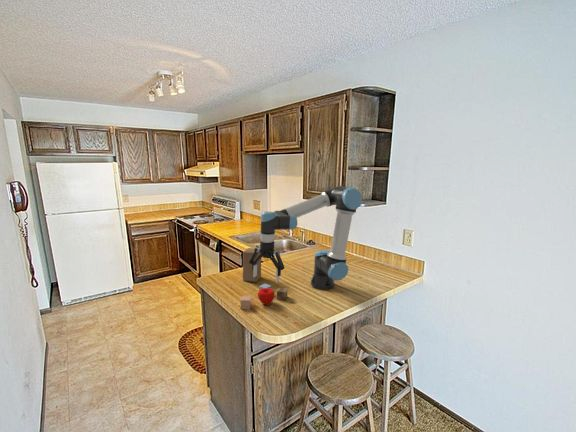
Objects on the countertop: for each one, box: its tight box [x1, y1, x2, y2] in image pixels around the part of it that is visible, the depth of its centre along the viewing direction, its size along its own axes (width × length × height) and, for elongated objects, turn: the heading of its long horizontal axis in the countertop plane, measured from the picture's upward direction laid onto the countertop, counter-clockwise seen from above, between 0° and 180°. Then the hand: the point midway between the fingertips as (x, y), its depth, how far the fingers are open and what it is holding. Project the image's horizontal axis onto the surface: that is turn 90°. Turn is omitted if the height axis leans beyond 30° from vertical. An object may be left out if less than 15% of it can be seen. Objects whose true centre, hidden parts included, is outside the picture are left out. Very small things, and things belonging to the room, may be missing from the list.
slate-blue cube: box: [258, 283, 272, 291], centre depth 162 cm, size 5×5×5 cm
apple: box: [257, 288, 275, 306], centre depth 151 cm, size 9×9×8 cm
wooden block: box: [242, 247, 262, 283], centre depth 181 cm, size 10×10×20 cm
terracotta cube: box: [240, 295, 252, 310], centre depth 147 cm, size 5×5×5 cm
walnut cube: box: [276, 287, 288, 301], centre depth 158 cm, size 5×5×5 cm
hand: (266, 278), depth 149 cm, fingers open, 13 cm apart
